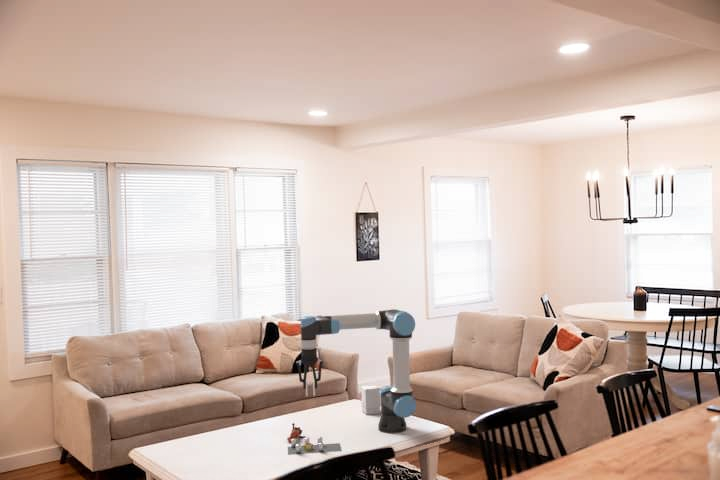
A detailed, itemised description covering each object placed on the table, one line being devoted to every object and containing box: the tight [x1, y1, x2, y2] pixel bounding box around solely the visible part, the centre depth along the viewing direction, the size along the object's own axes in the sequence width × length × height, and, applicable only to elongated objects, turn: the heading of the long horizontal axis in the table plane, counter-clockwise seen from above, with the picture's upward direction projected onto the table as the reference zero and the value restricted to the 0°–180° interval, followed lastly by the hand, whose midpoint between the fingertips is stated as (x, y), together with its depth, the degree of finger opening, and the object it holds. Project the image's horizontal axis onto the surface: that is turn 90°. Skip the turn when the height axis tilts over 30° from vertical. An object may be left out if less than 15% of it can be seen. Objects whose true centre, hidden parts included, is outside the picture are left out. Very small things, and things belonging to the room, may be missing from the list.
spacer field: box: [290, 436, 324, 455], centre depth 325 cm, size 15×11×4 cm
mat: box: [287, 443, 343, 456], centre depth 325 cm, size 26×12×1 cm, turn 96°
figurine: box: [286, 423, 306, 443], centre depth 343 cm, size 10×8×15 cm
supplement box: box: [360, 384, 381, 416], centre depth 390 cm, size 9×9×15 cm
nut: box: [303, 442, 314, 451], centre depth 325 cm, size 5×4×2 cm
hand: (310, 395), depth 327 cm, fingers open, 3 cm apart
